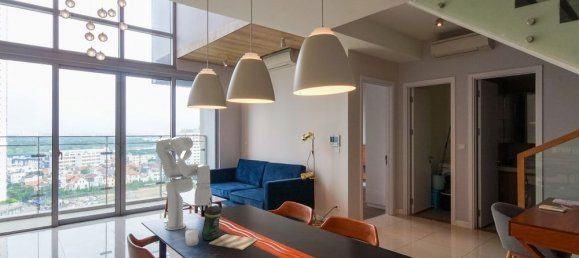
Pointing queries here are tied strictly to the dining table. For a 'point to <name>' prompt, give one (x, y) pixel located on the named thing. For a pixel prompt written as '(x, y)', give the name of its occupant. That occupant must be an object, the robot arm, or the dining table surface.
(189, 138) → the robot arm
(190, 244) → the white rounded block
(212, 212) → the coffee jar
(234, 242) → the beige striped cloth
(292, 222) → the dining table surface
